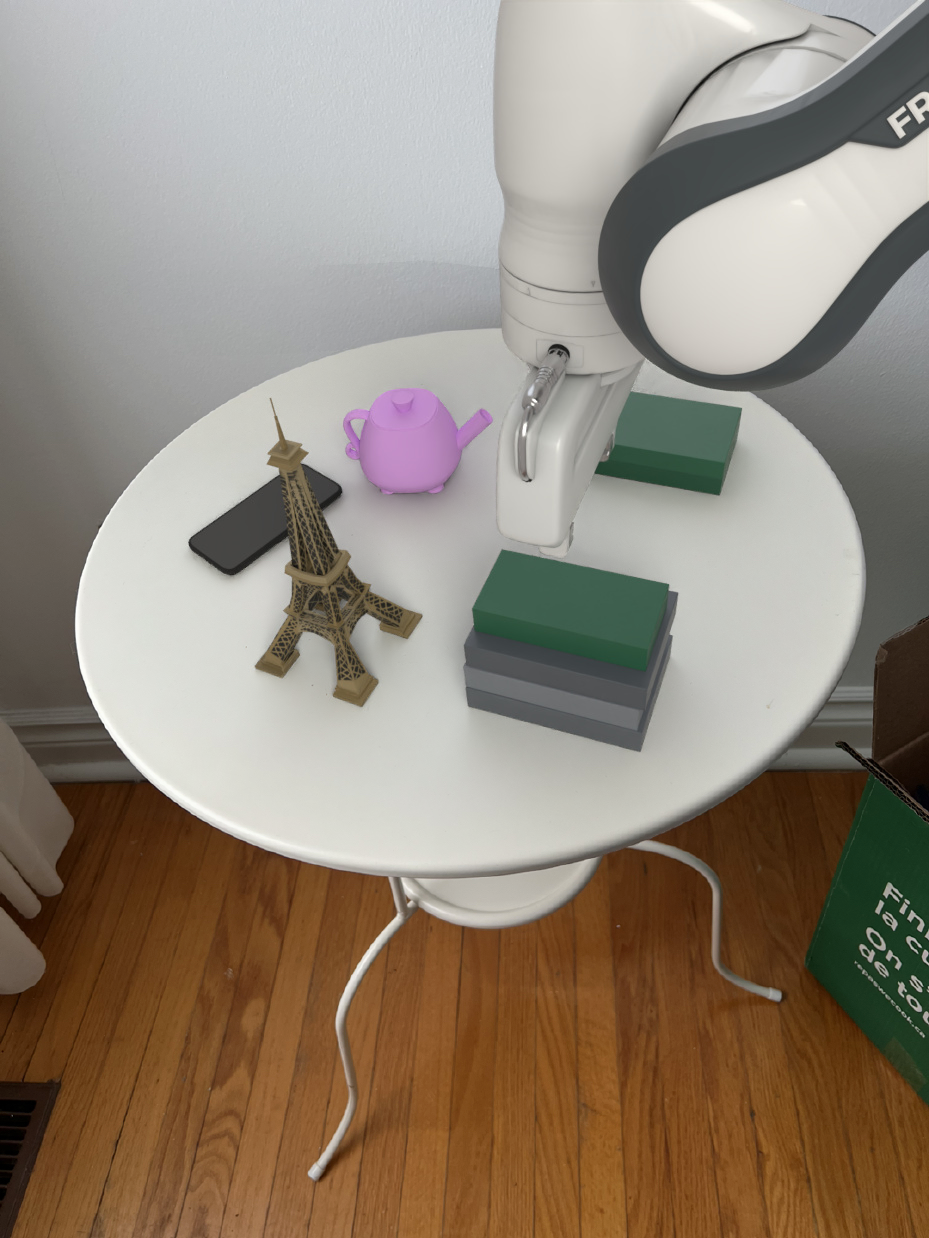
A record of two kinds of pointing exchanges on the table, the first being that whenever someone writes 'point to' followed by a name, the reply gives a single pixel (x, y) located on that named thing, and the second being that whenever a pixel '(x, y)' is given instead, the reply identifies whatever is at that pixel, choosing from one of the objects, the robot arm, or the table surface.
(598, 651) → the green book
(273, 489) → the smartphone
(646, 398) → the green stack
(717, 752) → the table surface
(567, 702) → the grey stack
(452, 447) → the teapot
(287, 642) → the eiffel tower
